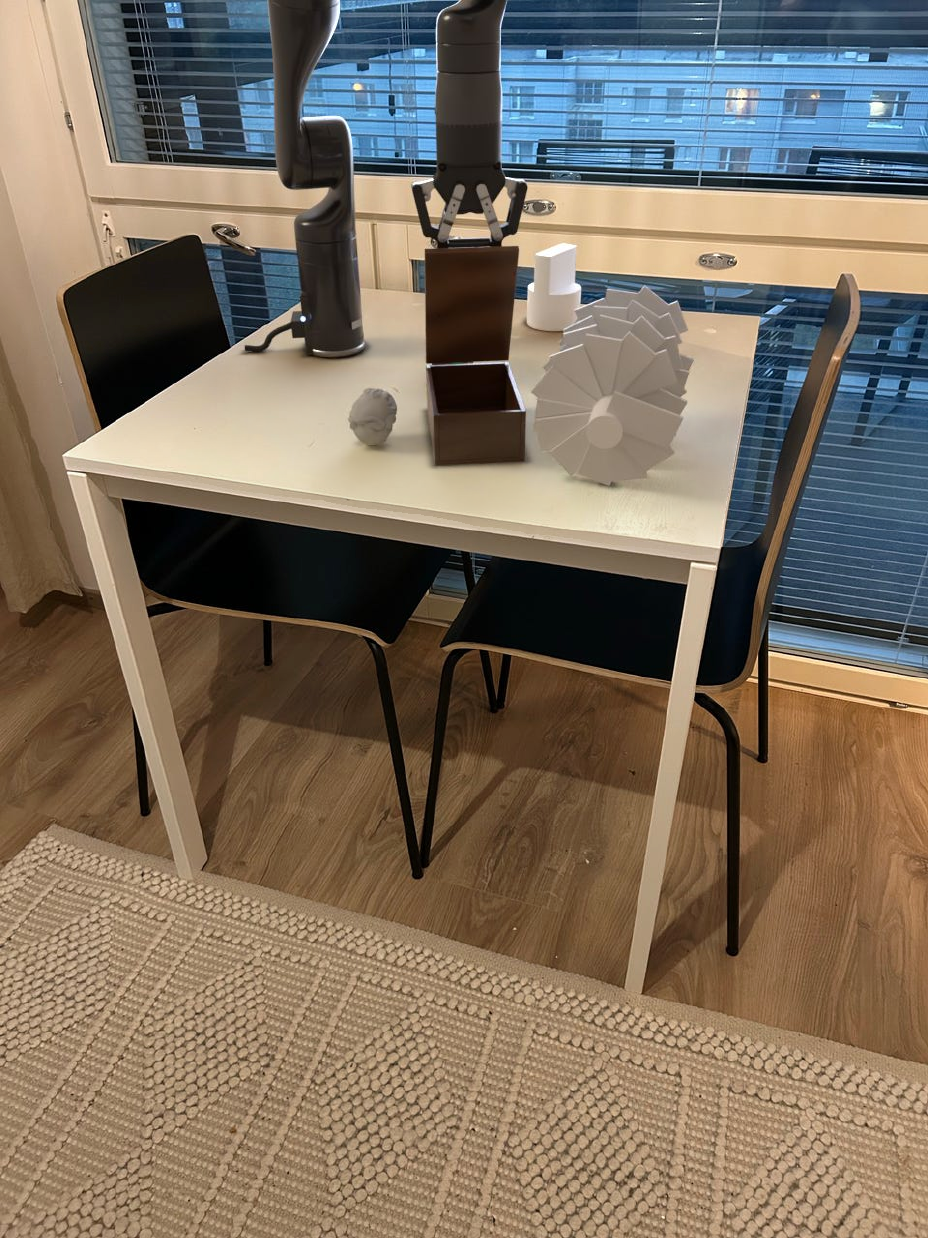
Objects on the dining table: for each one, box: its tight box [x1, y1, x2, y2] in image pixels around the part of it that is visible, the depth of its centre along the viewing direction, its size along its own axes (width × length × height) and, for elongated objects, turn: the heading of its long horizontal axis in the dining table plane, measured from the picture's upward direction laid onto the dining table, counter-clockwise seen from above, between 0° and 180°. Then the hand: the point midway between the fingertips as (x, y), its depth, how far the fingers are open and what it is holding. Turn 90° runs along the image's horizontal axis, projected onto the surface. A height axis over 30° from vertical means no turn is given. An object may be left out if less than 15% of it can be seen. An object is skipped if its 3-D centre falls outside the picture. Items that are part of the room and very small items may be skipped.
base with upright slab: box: [526, 243, 582, 332], centre depth 157 cm, size 9×9×12 cm
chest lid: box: [424, 237, 520, 365], centre depth 119 cm, size 18×11×5 cm
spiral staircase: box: [530, 285, 695, 487], centre depth 113 cm, size 18×18×25 cm
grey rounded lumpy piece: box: [347, 387, 398, 446], centre depth 119 cm, size 6×7×7 cm
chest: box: [425, 361, 527, 466], centre depth 121 cm, size 17×11×7 cm, turn 5°
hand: (469, 271), depth 115 cm, fingers closed on chest lid, 5 cm apart
